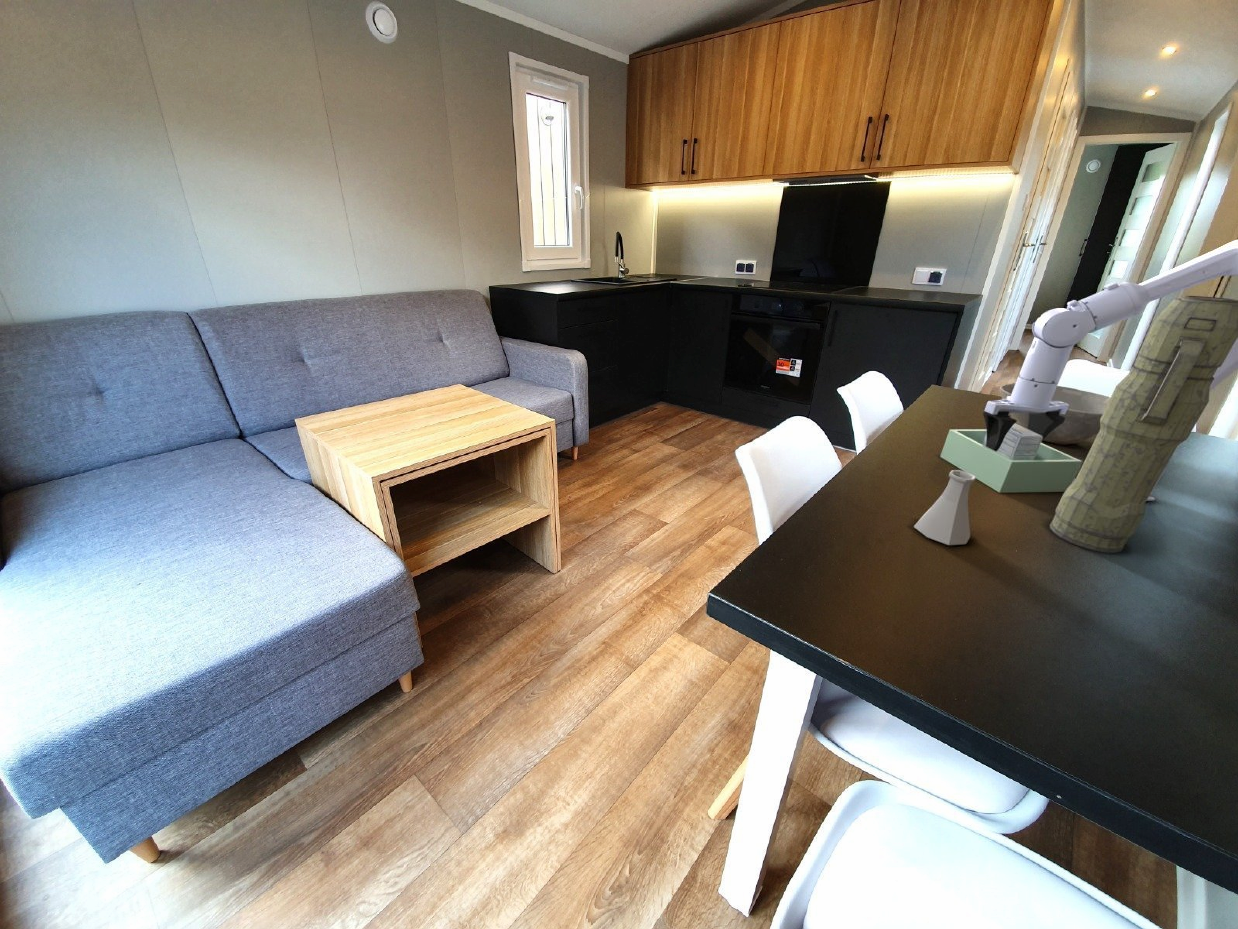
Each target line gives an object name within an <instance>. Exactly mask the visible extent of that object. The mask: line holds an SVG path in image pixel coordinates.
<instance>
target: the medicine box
mask: <svg viewBox="0 0 1238 929" xmlns="http://www.w3.org/2000/svg"><path fill="white" fill-rule="evenodd" d="M986 438H987V433H986V436H985V439H984V441H983V444H982V445H984V446H986ZM1042 439H1043V437H1042V436H1041V435H1039V434H1037V433H1035V432H1033V431H1031V430H1029V429H1026V428H1024V427H1022V426H1020V425H1018V424H1014V425H1013V426H1012V427H1011V428H1010V430H1009V431H1008V433H1007V434H1006V436H1005V438H1004V440H1003V442H1002V444H1001V446H1000V448H999V449H998V451H996V452H998V453H999V454H1001V455H1003V456H1005V457H1007V458H1009V459H1011V460H1034V458H1035V456H1036V453H1037V451H1038V448H1039V446H1040V443H1042V442H1043V441H1042ZM1041 441H1042V442H1041Z"/></svg>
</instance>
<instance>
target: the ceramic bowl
mask: <svg viewBox="0 0 1238 929" xmlns="http://www.w3.org/2000/svg"><path fill="white" fill-rule="evenodd" d="M1015 384H1016V382H1014V383H1006V384H1002V385H1000V387H999V390H1000V395H1001V400H1003V399H1006V398H1007V396H1011V394H1012V392H1013V389H1014V387H1015ZM1110 398H1111V396H1107V395H1103V394H1099V393H1095V392H1091V391H1087V390H1081V389H1077V388H1073V387H1072V388H1071V387H1067V386H1061V385H1057V387H1056V390H1055V392H1054V394H1053V397H1052V399H1051V401H1060V402H1063V403H1066V404H1069V406H1068V409H1067V411H1066V413H1065V414H1059V416H1062V417H1064V418H1065V420H1064V423H1062V424H1061V425H1059V426H1058V427H1056V428H1055V429H1054V430H1053V431H1051V432H1050V433H1049V434H1048V435H1047V436H1046V437H1045V438H1044V440H1043V441H1042V442H1046V443H1051V444H1056V445H1071V444H1072V445H1073V444H1077V443H1081V442H1084V441H1086V440H1088V439H1091V438H1092V437H1093V436H1097V435H1098V433H1099V431H1100V428H1101V426H1100V419H1101V417H1102V415H1103V412H1104V410H1105V408H1106V406H1107V404H1108V402H1109V400H1110ZM1009 415H1010V418H1013V419H1015V420H1017V422H1016V423H1015V424H1018V425H1020V426H1022V427H1024V428H1026V429H1027V428H1028V422H1029V413H1009Z"/></svg>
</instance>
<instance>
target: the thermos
mask: <svg viewBox="0 0 1238 929" xmlns="http://www.w3.org/2000/svg"><path fill="white" fill-rule="evenodd" d="M1237 338H1238V299H1237V298H1227V297H1215V296H1204V295H1203V296H1201V295H1183V297H1182V298H1174V299H1173V300H1172V301H1171V302H1170V303H1169V304H1168V305H1167V306H1166V307H1165V308H1164V309H1163V310H1162V311H1161V312H1160V314H1158V316H1157V317H1156V318H1155V319H1154V321H1153V324H1152V325H1151V327H1150V329H1149V330H1148V333H1147V335H1146V337H1145V340H1144V342H1143V344H1142V346H1141V348H1140V350H1139V351H1138V354H1137V356H1138V358H1137V360H1136V362H1135V364H1134V365H1132V366H1131V368H1130V370H1129V372H1128V373H1127V375H1126V376H1125V377H1124V378H1122V380H1121V381H1119V383H1118V384H1116V386H1115V388H1114V390H1113V392H1112V394H1111V395H1110V400H1109V402H1108V404H1107V406H1106V408H1105V410H1104V412H1103V415H1102V417H1101V419H1100V426H1101V428H1100V431H1099V433H1098V434H1096V437H1095V438H1094V440H1093V443H1092V445H1091V447H1090V449H1089V451H1088V453H1087V455H1086V457H1085V459H1084V461H1083V462H1082V464H1081V466H1080V468H1079V470H1078V473H1077V476H1076V477H1075V479H1076V480H1075V481H1074V482H1073V483H1072V484H1071V485H1070V486H1069V487H1068V488H1067V490H1066V491H1065V492H1063V494H1062V496H1061V498H1060V500H1059V502H1058V503H1057V506H1056V508H1055V510H1054V511H1055V515H1054V517H1053V518H1052V520H1051V522H1050V523H1049V528H1050V530H1051V531H1052V532H1053V534H1055V535H1057V536H1058V537H1059V538H1061V539H1063V540H1064V541H1067V542H1069V543H1071V544H1073V545H1076V546H1078V547H1081V548H1084V549H1087V550H1091V551H1096V552H1101V553H1105V554H1106V553H1111V554H1112V553H1113V554H1115V553H1120V552H1122V551H1123V549H1124V548H1125V546H1126V543H1127V541H1128V540H1129V538H1131V537H1133V535H1134V533H1135V532H1136V530H1137V529H1138V527H1139V525H1140V523H1141V521H1142V520H1143V518H1144V516H1145V512H1146V511H1145V509H1146V508H1145V506H1146V502H1147V501H1146V500H1147V499H1148V497H1149V495H1150V493H1151V492H1152V493H1153V491H1154V490H1153V488H1154V486H1155V485H1156V486H1157V484H1158V482H1159V481H1158V479H1159V478H1160V479H1161V477H1162V475H1163V474H1162V472H1163V470H1164V469H1165V470H1166V468H1167V465H1168V464H1169V462H1170V460H1171V458H1172V456H1173V455H1174V453H1175V451H1176V450H1177V448H1178V446H1179V445H1181V444H1182V443H1184V442H1185V441H1186V440H1187V439H1188V438H1189V436H1190V435H1191V433H1192V431H1193V430H1194V428H1195V426H1196V424H1197V423H1198V421H1199V420H1200V418H1201V416H1202V414H1203V412H1204V411H1205V409H1206V407H1207V406H1208V404H1209V402H1210V392H1211V391H1210V385H1211V383H1212V382H1213V380H1214V377H1213V375H1214V374H1215V372H1216V370H1217V368H1218V367H1221V366H1222V364H1223V362H1224V360H1225V359H1226V357H1227V355H1228V353H1229V352H1230V350H1231V348H1232V346H1233V345H1234V343H1235V341H1236V339H1237ZM1165 467H1166V468H1165ZM1165 470H1164V471H1165ZM1163 473H1164V472H1163ZM1161 474H1162V475H1161ZM1160 476H1161V477H1160ZM1160 479H1159V480H1160ZM1157 481H1158V482H1157ZM1156 483H1157V484H1156ZM1156 486H1155V487H1156ZM1154 489H1155V488H1154ZM1152 490H1153V491H1152ZM1152 493H1151V494H1152ZM1150 496H1151V495H1150Z"/></svg>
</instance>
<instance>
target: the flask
mask: <svg viewBox="0 0 1238 929" xmlns="http://www.w3.org/2000/svg"><path fill="white" fill-rule="evenodd" d="M948 477H949V480H948V483H947V485H946V487H945V489H944V491H943V492H942V494H941V495H940V496H939V497H938V499H937V500H936V501H935V502H934V503H933V504H932V505H931V506H930V507H929V509H928V510H927V511H926V512H925V513H924V514H923V515H922V516H921V517H920V519H919V520H918V521H917V522H916V523H915V524H914V526H913V528H914V529H916V530H917V531H919V532H920V533H921V534H922V535H923V536H925V537H926V538H928V539H931V540H934V541H936V542H939V543H942V544H944V545H947V546H956V545H958V546H959V545H966V544H967V543H968V541H969V540H970V538H971V528H970V519H969V502H968V499H969V495H970V494H969V492H970V488H971V485H972V484H973V483H974V482H975V480H977V479H976V476H974V475H972V474H970V473H968V472H965V471H963V470H961V469H954V470H950V471H949V473H948Z"/></svg>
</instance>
